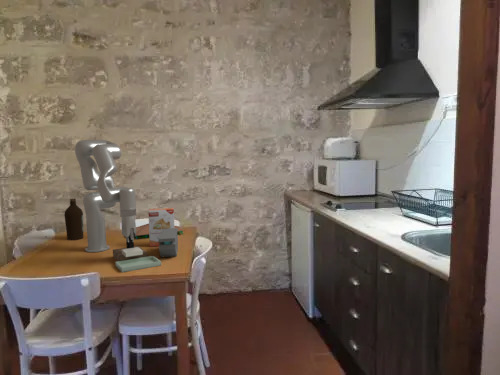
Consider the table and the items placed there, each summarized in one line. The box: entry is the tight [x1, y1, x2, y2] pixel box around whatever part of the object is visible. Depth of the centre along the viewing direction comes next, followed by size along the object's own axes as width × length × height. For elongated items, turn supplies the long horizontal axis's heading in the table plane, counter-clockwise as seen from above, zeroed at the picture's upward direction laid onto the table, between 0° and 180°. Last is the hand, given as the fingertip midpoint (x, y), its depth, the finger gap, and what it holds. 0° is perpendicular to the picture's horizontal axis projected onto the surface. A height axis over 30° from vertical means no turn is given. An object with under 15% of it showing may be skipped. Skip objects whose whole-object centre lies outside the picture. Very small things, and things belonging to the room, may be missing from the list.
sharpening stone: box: [158, 228, 179, 258], centre depth 205 cm, size 25×8×11 cm, turn 7°
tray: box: [114, 255, 162, 273], centre depth 185 cm, size 12×18×2 cm, turn 122°
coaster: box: [122, 246, 143, 257], centre depth 191 cm, size 8×8×2 cm
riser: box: [112, 245, 149, 262], centre depth 197 cm, size 16×13×4 cm
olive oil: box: [63, 198, 84, 241], centre depth 246 cm, size 11×11×25 cm
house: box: [134, 223, 185, 240], centre depth 254 cm, size 23×33×8 cm
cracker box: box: [148, 207, 175, 248], centre depth 224 cm, size 14×6×21 cm, turn 102°
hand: (130, 249), depth 196 cm, fingers closed
